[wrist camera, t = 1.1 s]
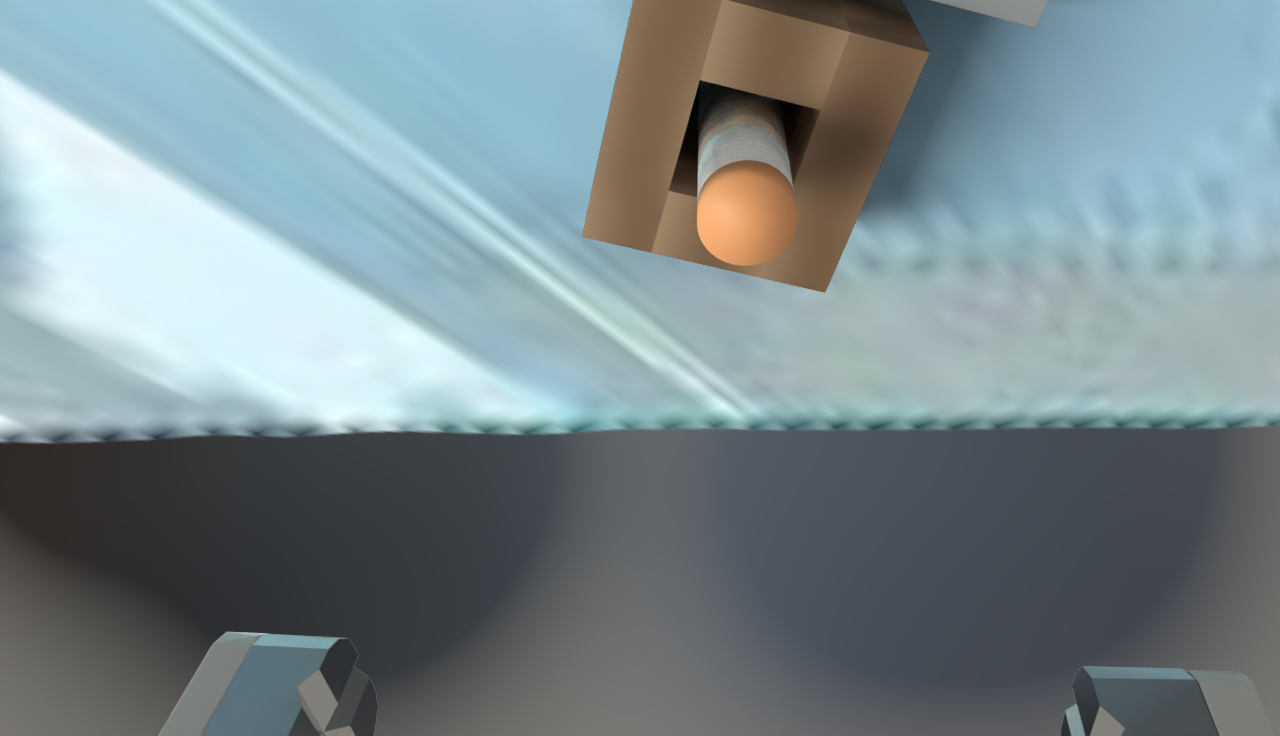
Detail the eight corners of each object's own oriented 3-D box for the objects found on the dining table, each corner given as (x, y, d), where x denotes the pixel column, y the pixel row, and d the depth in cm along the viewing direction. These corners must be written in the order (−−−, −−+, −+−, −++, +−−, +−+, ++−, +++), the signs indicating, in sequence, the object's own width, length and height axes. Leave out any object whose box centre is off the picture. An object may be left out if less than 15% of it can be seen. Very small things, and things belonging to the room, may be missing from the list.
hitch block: (596, 167, 41) (582, 236, 36) (648, -70, 34) (639, -23, 30) (812, 218, 42) (825, 292, 37) (900, -3, 35) (929, 52, 31)
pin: (690, 114, 39) (685, 253, 30) (711, 40, 37) (712, 166, 28) (762, 132, 39) (779, 274, 30) (787, 60, 37) (812, 191, 28)
